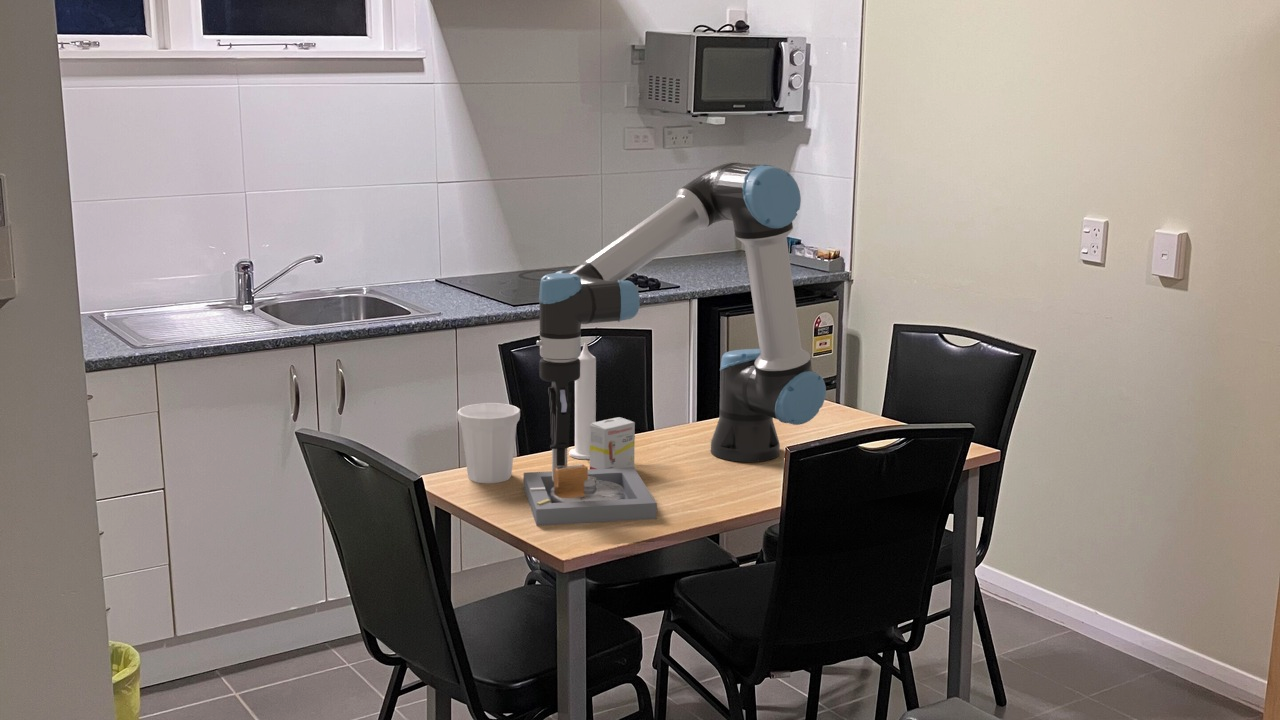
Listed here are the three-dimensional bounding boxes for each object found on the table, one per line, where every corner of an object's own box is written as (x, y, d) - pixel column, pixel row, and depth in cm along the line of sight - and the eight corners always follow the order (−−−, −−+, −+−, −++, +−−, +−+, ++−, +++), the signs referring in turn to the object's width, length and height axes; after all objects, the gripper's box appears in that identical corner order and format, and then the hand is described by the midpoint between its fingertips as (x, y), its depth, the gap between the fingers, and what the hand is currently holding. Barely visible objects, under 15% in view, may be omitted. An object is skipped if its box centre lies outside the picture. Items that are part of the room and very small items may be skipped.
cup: (469, 472, 258) (467, 401, 255) (527, 476, 257) (527, 404, 253) (450, 491, 246) (449, 416, 243) (511, 495, 245) (511, 420, 241)
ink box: (604, 484, 252) (604, 428, 249) (588, 479, 255) (588, 423, 253) (635, 476, 257) (636, 421, 255) (619, 471, 261) (619, 416, 258)
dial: (604, 485, 245) (604, 449, 244) (637, 506, 233) (638, 469, 232) (539, 495, 239) (538, 458, 237) (569, 517, 227) (569, 479, 225)
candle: (607, 456, 271) (607, 344, 265) (577, 461, 267) (578, 347, 262) (592, 448, 277) (592, 338, 271) (563, 452, 273) (563, 341, 268)
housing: (633, 488, 249) (634, 465, 248) (656, 526, 228) (656, 501, 227) (523, 494, 245) (523, 471, 244) (536, 533, 224) (536, 507, 223)
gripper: (535, 350, 235) (536, 470, 240) (543, 366, 223) (543, 491, 228) (575, 350, 237) (574, 468, 242) (585, 365, 224) (584, 490, 229)
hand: (559, 479), depth 235 cm, fingers closed
